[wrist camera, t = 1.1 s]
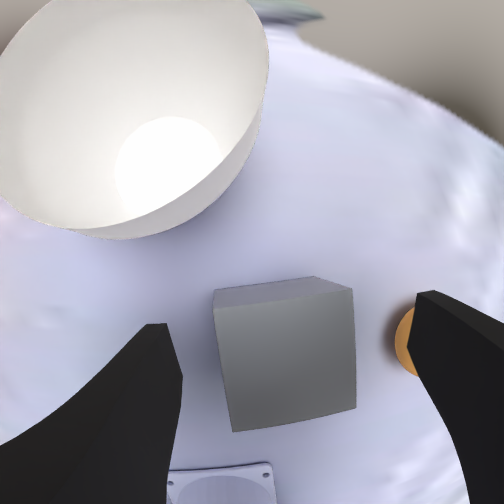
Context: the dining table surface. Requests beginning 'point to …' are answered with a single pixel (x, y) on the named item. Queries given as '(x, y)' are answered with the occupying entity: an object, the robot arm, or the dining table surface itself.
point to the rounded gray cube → (286, 351)
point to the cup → (129, 111)
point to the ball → (404, 342)
